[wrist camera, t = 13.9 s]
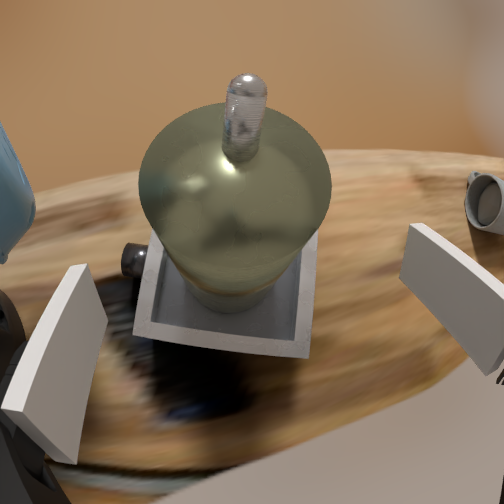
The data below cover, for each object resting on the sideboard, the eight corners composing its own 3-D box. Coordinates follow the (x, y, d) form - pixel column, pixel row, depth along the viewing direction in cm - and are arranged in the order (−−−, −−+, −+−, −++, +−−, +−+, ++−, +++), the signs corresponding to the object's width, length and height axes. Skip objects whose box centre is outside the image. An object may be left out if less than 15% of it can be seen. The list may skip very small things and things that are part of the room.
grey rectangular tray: (123, 331, 26) (96, 326, 20) (148, 206, 30) (132, 174, 24) (290, 355, 27) (308, 358, 21) (301, 226, 31) (318, 198, 25)
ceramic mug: (502, 243, 33) (537, 225, 26) (470, 238, 33) (507, 215, 26) (487, 182, 37) (516, 158, 29) (454, 170, 36) (484, 142, 29)
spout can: (269, 318, 23) (361, 259, 7) (178, 306, 23) (86, 222, 7) (277, 232, 25) (347, 75, 9) (192, 221, 25) (158, 52, 9)
